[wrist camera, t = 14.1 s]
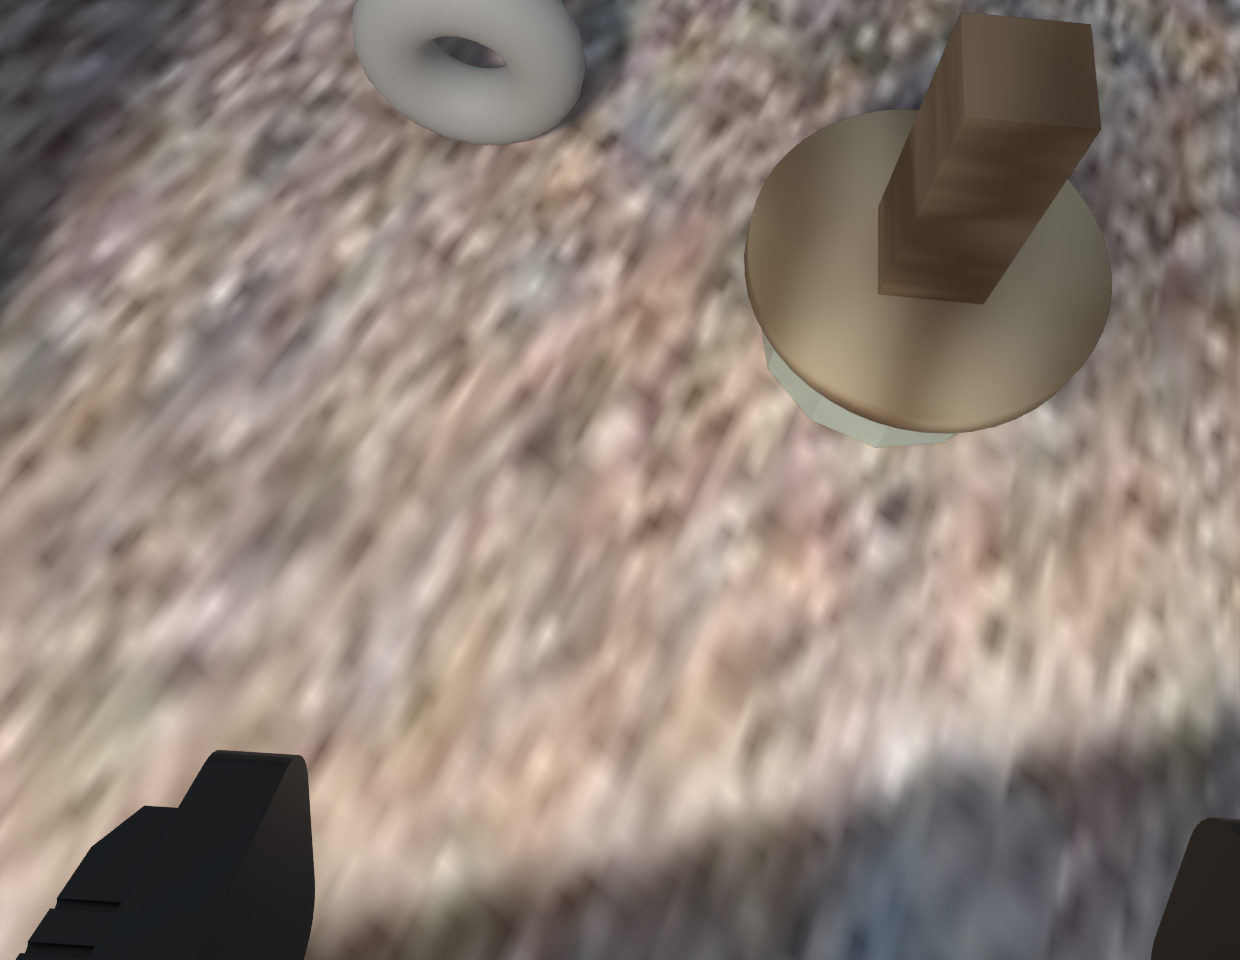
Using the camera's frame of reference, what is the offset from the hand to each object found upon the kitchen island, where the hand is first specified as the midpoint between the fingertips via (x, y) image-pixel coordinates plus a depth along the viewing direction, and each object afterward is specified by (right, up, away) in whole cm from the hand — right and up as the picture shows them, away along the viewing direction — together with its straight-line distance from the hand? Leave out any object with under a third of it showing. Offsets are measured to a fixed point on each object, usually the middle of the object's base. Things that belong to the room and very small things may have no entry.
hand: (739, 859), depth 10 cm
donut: (-8, +20, +41) cm, 46 cm away
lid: (+11, +12, +32) cm, 36 cm away
